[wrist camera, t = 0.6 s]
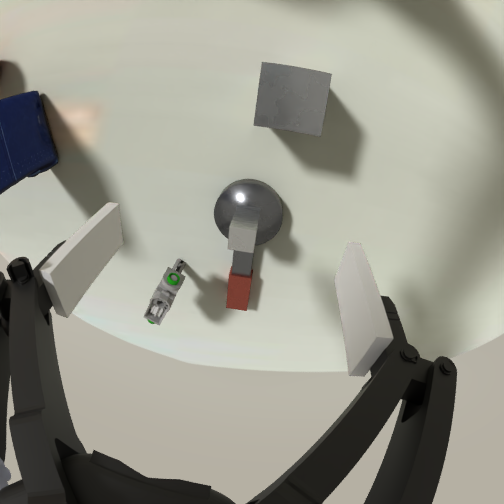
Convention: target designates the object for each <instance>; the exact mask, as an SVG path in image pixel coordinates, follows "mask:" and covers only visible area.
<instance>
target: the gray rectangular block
mask: <svg viewBox="0 0 504 504" xmlns="http://www.w3.org/2000/svg"><path fill="white" fill-rule="evenodd" d="M331 75H332V74H330V73H325V72H321V71H316V70H311V69H306V68H300V67H295V66H288V65H282V64H275V63H267V62H262V66H261V73H260V81H259V88H258V96H257V103H256V111H255V118H254V126H261V127H268V128H275V129H281V130H287V131H293V132H299V133H304V134H310V135H315V136H320V137H321V132H322V127H323V121H324V116H325V110H326V105H327V99H328V93H329V87H330V81H331Z"/></svg>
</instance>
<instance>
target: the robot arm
mask: <svg viewBox="0 0 504 504" xmlns="http://www.w3.org/2000/svg"><path fill="white" fill-rule="evenodd" d="M123 243H124V242H123V235H122V227H121V218H120V209H119V203H111V202H108V203H107V204H106V205H105V206H104V207H102V208H101V209H100V210H99V211H98V212H97V213H96V214H94V215H93V216H92V217H91V218H90V219H89V220H88V221H87V222H86V223H85V224H84V225H82V226H81V227H80V228H79V229H78V230H77V231H76V232H75V233H74V234H73V235H72V236H71V237H70V238H69V239H68V240H67V241H66V240H65V241H63V242H61V243H60V244H58V245H57V246H56V247H55V248H54V249H53V250H52V251H51V252H50V253H49V254H48V255H47V257H45V258H44V259H43V260H42V261H41V262H40V263H39V264H38V265H37V266H36V267H35V269H34V270H32V267H31V264H30V262H29V259H28V258H27V257H19V258H16V259H14V260H13V261H12V262H10V264H9V265H8V266H7V271H8V274H9V276H10V278H11V280H6V279H5V277H4V274H3V273H2V272H0V504H235V503H234V502H233V501H232V500H231V499H229V498H228V497H226V496H225V495H223V494H221V493H219V492H217V491H215V490H212V489H211V486H208V485H203V484H198V483H193V482H189V481H184V480H180V479H158V478H148V477H145V476H143V475H141V474H140V473H138V472H136V471H135V470H133V469H132V468H130V467H129V466H127V465H125V464H124V463H122V462H121V461H119V460H117V459H114V458H111V457H109V456H107V455H104V454H102V453H100V452H97V451H95V450H94V451H93V453H92V454H87V453H86V451H85V448H84V447H83V445H82V443H81V441H80V440H79V438H78V437H77V435H76V432H75V429H74V426H73V423H72V420H71V416H70V413H69V409H68V406H67V402H66V398H65V394H64V389H63V385H62V381H61V376H60V371H59V366H58V360H57V355H56V348H55V342H54V334H53V326H52V316H51V313H50V309H51V307H52V306H53V307H54V309H55V311H56V313H57V314H58V315H61V316H64V317H66V318H68V317H69V315H70V314H71V313H72V311H73V310H74V308H75V307H76V305H77V304H78V302H79V301H80V300H81V298H82V297H83V295H84V294H85V293H86V291H87V290H88V288H89V287H90V286H91V284H92V283H93V282H94V280H95V279H96V278H97V276H98V275H99V274H100V272H101V271H102V270H103V268H104V267H105V266H106V264H107V263H108V262H109V261H110V259H111V258H112V257H113V256H114V254H115V253H116V252H117V251H118V249H119V248H120V247H121V246H122V244H123ZM334 282H335V287H336V293H337V298H338V304H339V310H340V316H341V322H342V328H343V335H344V342H345V349H346V356H347V364H348V372H349V376H365V375H366V373H368V371H369V370H370V371H371V378H370V379H369V380H368V382H367V383H366V384H365V385H364V386H363V387H362V390H361V391H360V392H359V393H358V395H357V396H356V397H355V399H354V400H353V401H352V402H351V403H350V405H349V406H348V407H347V409H346V410H345V411H344V412H343V413H342V414H341V415H340V417H339V418H338V419H337V420H336V421H335V422H334V423H333V425H332V426H331V427H330V428H329V429H328V430H327V431H326V432H325V433H324V435H323V436H322V437H321V438H320V439H319V440H318V441H317V442H316V443H315V444H314V445H313V446H312V447H311V448H310V449H309V450H308V451H307V452H306V453H305V454H304V455H303V456H302V457H301V458H300V459H299V460H298V461H297V462H296V463H295V464H294V465H293V466H292V467H291V468H289V469H288V470H287V471H286V472H285V473H284V474H283V475H282V476H281V477H280V478H278V479H277V480H276V481H275V482H274V483H272V484H271V485H270V486H269V487H267V488H266V489H265V490H263V491H262V492H261V493H259V494H258V495H257V496H255V497H254V498H253V499H252V500H250V501H249V502H248V503H246V504H322V503H323V501H324V500H325V499H326V498H327V497H328V496H329V495H330V494H331V493H332V492H333V491H334V490H335V488H336V487H337V486H338V485H339V484H340V483H341V482H342V480H343V479H344V478H345V477H346V476H347V475H348V473H349V472H350V471H351V470H352V468H353V467H354V466H355V465H356V463H357V462H358V461H359V460H360V458H361V457H362V456H363V454H364V453H365V452H366V450H367V449H368V448H369V446H370V445H371V444H372V442H373V441H374V439H375V438H376V437H377V435H378V434H379V432H380V431H381V429H382V428H383V426H384V425H385V423H386V422H387V420H388V419H389V417H390V415H391V414H392V412H393V411H394V409H395V407H396V406H397V404H398V402H399V400H400V399H402V404H401V408H400V411H399V415H398V418H397V421H396V425H395V428H394V431H393V434H392V437H391V440H390V443H389V445H388V449H387V451H386V454H385V456H384V459H383V462H382V464H381V467H380V469H379V471H378V474H377V476H376V479H375V481H374V483H373V486H372V488H371V490H370V492H369V494H368V496H367V498H366V500H365V503H364V504H432V502H433V499H434V496H435V493H436V489H437V486H438V483H439V479H440V476H441V472H442V468H443V464H444V460H445V456H446V451H447V447H448V442H449V436H450V431H451V425H452V418H453V411H454V403H455V393H456V381H457V369H456V367H455V365H454V363H453V362H452V361H451V360H450V359H449V358H447V357H443V356H442V357H438V358H437V359H436V360H435V361H434V362H431V361H428V360H425V359H422V358H420V355H419V353H418V351H417V350H416V349H415V348H414V347H413V346H412V345H410V344H408V343H407V340H406V337H405V333H404V330H403V327H402V324H401V321H400V318H399V316H398V314H397V310H396V307H395V304H394V303H393V302H392V301H391V299H390V298H389V297H386V296H380V293H379V290H378V287H377V284H376V282H375V279H374V276H373V273H372V270H371V268H370V265H369V262H368V260H367V257H366V254H365V252H364V249H363V247H362V244H361V243H356V242H351V241H349V242H348V244H347V247H346V250H345V252H344V255H343V258H342V261H341V263H340V266H339V268H338V271H337V274H336V276H335V279H334ZM10 375H11V385H12V395H13V403H14V410H15V414H14V416H12V417H10V419H9V425H10V432H11V437H12V442H13V446H14V450H15V455H16V459H17V462H18V465H19V470H20V472H21V476H22V480H20V481H17V482H15V483H13V484H11V485H8V483H7V481H9V480H10V478H11V473H10V471H9V469H8V468H6V467H5V465H4V461H5V452H6V421H7V418H6V417H7V402H8V391H9V381H10Z"/></svg>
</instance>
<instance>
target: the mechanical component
mask: <svg viewBox="0 0 504 504" xmlns="http://www.w3.org/2000/svg"><path fill="white" fill-rule="evenodd" d="M184 266H185V262H183V264H181V260H180V259H177V261H176V263H175V264H174V266H173V268H172V269H171V268H169V267H168V268H167V270H166V272H165V274H164V276H163V278H162V280H161V282H160V284H159V285H158V286H157V288H156V290H155V292H154V294H153V296H152V298H151V299H150V304H149V306H148V308H147V310H146V313H145V315H144V318H146V319H147V320H148V322H150V323H151V324H157V325H160V323H161V322H162V320H163V318H164V316H165V315H166V313H167V312H168V311H169V310H170V307H171V305H172V303H173V301H174V298H175V296H176V294H177V292H178V290H179V289H180V287H181V286H182V283H183V281H184V279H185V276H184V275H182V274H181V272H182V270H183V268H184ZM176 267H177V269H176ZM175 269H176V271H177V272H176V271H175Z"/></svg>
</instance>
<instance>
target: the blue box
mask: <svg viewBox="0 0 504 504" xmlns="http://www.w3.org/2000/svg"><path fill="white" fill-rule="evenodd" d="M57 163H58V156H57V152H56V149H55V146H54V143H53V140H52V137H51V132H50V128H49V125H48V121H47V118H46V115H45V111H44V107H43V104H42V101H41V99H40V97H39V93H38V91H31V92H27V93H22V94H19V95H15V96H11V97H8V98H5V99H1V100H0V194H2V193H3V192H4V191H6V190H7V189H9V188H10V187H11V186H13V185H15V184H17V183H18V182H19V181H21V180H22V179H24V178H25V177H35V176H37V175H38V174H39V173H42V172H45V171H47V170H49V169H50V168H51V167H53V166H54V165H56V164H57Z"/></svg>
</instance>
